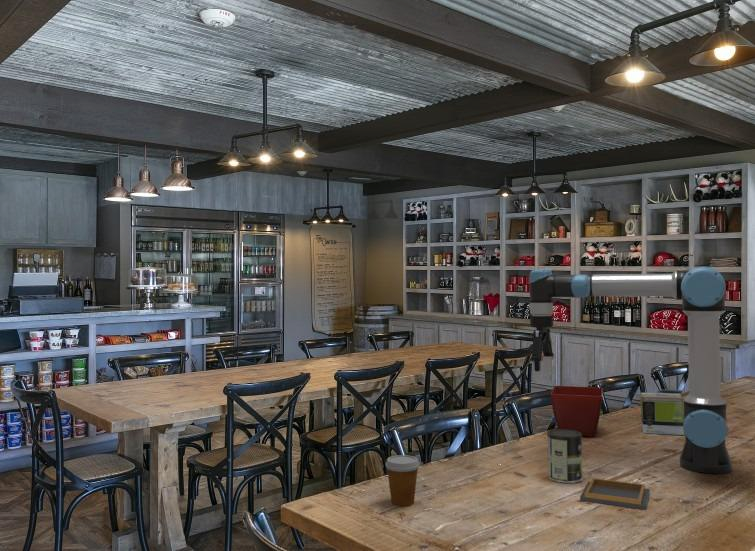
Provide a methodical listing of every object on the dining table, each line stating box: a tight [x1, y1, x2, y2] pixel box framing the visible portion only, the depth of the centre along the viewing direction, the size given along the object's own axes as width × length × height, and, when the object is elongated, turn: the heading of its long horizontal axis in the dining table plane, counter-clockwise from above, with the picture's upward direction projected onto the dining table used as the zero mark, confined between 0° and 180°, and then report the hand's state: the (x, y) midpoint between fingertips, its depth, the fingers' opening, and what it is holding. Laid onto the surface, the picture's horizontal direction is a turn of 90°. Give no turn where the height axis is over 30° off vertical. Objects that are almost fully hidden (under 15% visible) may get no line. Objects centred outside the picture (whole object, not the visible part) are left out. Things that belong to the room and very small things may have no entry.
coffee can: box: [546, 428, 583, 484], centre depth 202 cm, size 10×10×14 cm
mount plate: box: [579, 477, 651, 510], centre depth 185 cm, size 17×15×2 cm
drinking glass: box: [656, 389, 684, 399], centre depth 280 cm, size 10×10×12 cm
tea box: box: [640, 392, 685, 436], centre depth 259 cm, size 15×10×15 cm
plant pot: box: [549, 385, 604, 438], centre depth 259 cm, size 19×19×17 cm
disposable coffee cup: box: [385, 454, 420, 507], centre depth 183 cm, size 10×10×12 cm
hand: (542, 378), depth 221 cm, fingers open, 13 cm apart
